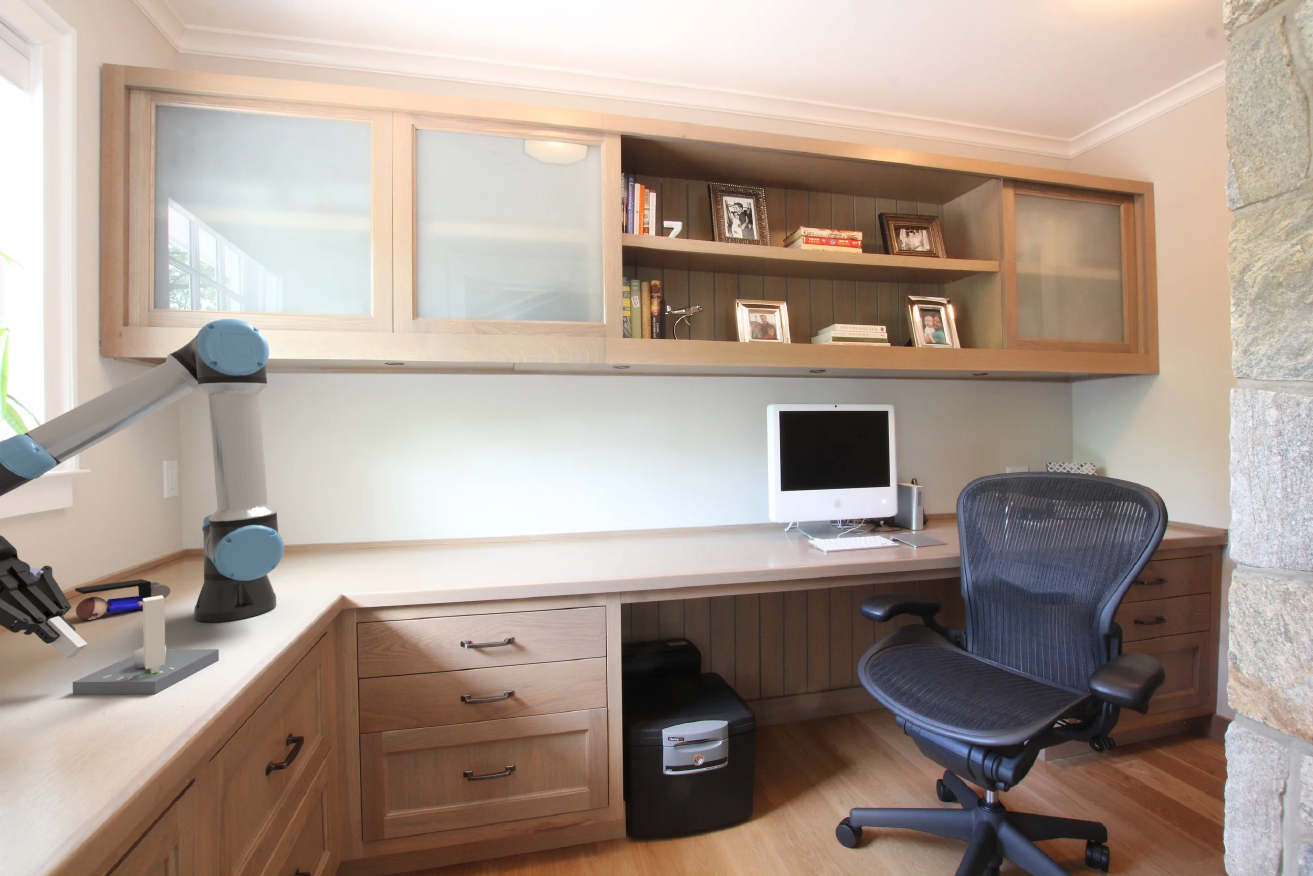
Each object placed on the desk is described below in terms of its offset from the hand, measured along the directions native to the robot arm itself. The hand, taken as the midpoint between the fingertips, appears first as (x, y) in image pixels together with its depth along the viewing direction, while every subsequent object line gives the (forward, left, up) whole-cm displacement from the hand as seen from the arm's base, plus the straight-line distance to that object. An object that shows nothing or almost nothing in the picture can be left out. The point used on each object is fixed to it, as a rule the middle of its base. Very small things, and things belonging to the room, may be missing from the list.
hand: (77, 651), depth 90 cm
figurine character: (-38, -29, -6) cm, 48 cm away
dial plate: (-4, +8, -6) cm, 11 cm away
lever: (-3, +9, -4) cm, 10 cm away
